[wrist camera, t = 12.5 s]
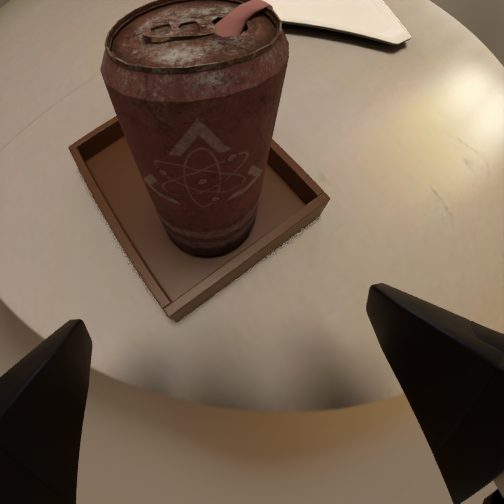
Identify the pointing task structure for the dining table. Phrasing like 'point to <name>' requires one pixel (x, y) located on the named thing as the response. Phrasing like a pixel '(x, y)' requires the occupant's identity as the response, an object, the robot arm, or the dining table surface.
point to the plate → (344, 18)
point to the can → (199, 110)
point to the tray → (156, 238)
